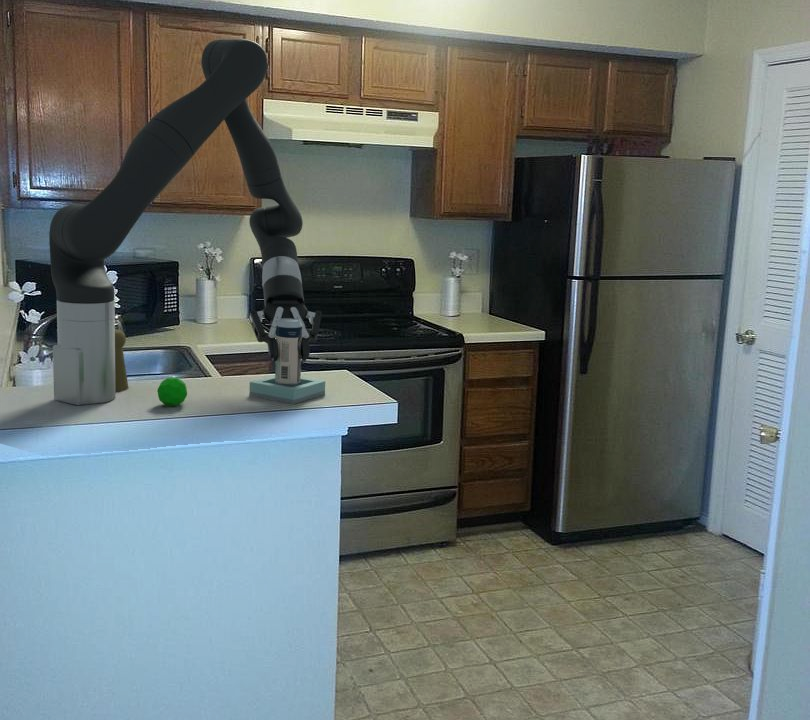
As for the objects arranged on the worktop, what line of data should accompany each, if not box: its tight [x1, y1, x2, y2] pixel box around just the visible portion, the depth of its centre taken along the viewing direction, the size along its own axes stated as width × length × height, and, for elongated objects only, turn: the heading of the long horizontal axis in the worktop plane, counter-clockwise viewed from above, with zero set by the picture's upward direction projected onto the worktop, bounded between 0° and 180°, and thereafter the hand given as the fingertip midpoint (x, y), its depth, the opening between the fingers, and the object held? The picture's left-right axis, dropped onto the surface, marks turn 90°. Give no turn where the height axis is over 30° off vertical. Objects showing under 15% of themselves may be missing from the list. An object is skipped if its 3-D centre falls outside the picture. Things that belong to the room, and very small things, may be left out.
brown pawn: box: [115, 328, 129, 393], centre depth 152 cm, size 6×6×11 cm
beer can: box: [274, 318, 302, 386], centre depth 154 cm, size 5×5×12 cm
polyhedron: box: [156, 376, 188, 407], centre depth 143 cm, size 5×5×5 cm
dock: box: [248, 375, 326, 405], centre depth 155 cm, size 10×10×3 cm
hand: (290, 358), depth 152 cm, fingers closed on beer can, 4 cm apart
